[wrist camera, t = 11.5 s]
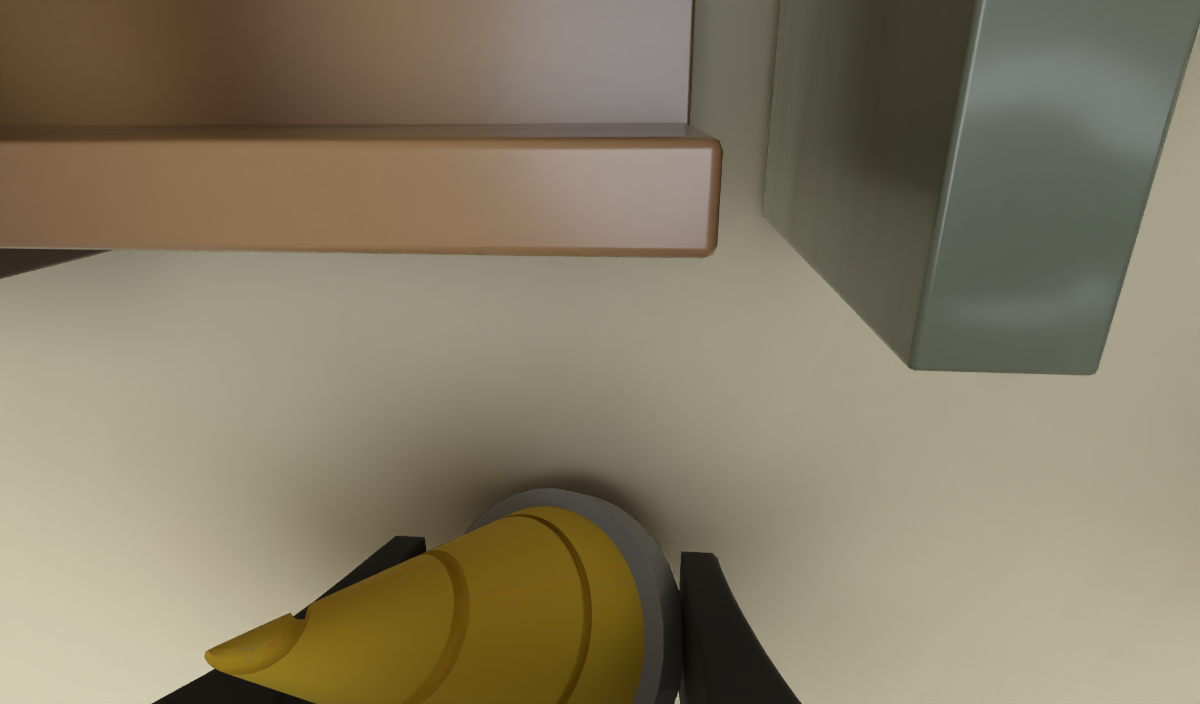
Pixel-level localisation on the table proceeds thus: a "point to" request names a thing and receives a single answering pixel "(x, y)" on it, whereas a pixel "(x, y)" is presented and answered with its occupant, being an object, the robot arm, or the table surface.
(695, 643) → the robot arm
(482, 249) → the drawer
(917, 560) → the table surface
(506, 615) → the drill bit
